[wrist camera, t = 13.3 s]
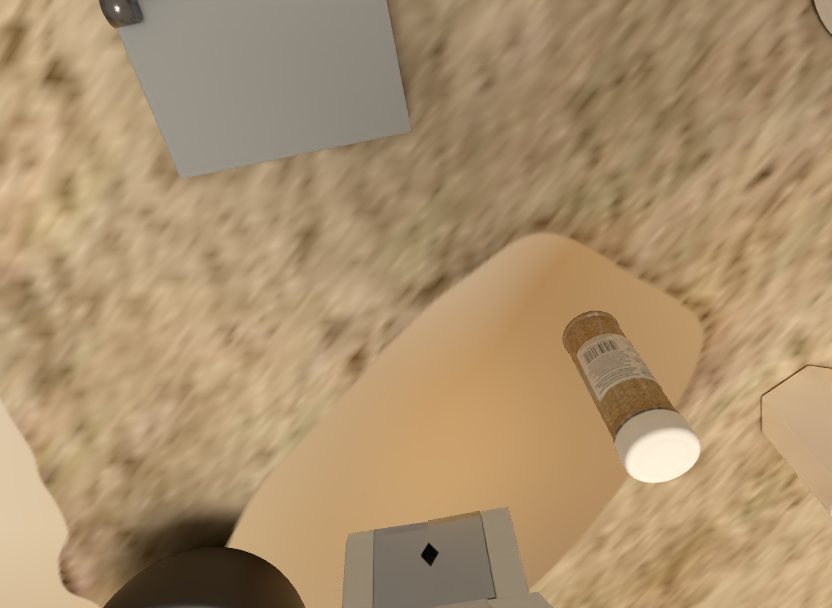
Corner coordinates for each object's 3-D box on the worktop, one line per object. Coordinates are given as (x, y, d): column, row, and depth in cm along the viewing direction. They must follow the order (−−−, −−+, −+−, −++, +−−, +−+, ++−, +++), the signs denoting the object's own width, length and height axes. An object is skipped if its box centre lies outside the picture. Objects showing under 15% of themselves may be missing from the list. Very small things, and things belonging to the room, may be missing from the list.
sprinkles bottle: (565, 361, 45) (628, 493, 34) (557, 316, 43) (622, 441, 31) (620, 347, 45) (703, 476, 33) (616, 301, 42) (703, 422, 31)
